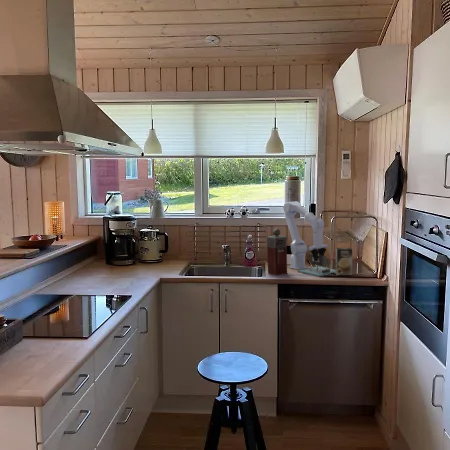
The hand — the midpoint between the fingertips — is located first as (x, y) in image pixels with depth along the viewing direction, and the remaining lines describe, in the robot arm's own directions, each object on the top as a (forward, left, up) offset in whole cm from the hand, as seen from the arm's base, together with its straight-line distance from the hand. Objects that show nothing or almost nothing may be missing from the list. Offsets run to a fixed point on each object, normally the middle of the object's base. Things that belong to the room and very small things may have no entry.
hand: (318, 260), depth 279 cm
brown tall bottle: (-14, -20, -8) cm, 26 cm away
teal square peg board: (0, 0, -8) cm, 8 cm away
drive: (0, 0, -3) cm, 3 cm away
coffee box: (+15, +6, -8) cm, 18 cm away
